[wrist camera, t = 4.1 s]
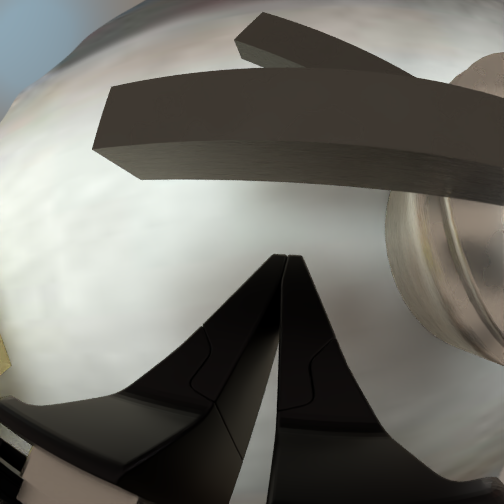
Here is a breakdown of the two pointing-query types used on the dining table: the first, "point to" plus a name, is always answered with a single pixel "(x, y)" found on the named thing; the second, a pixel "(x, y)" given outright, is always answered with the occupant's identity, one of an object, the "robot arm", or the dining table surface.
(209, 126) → the pressure cooker lid
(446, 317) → the pressure cooker pot
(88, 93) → the dining table surface
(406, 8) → the dining table surface
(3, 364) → the slatted curved stool
